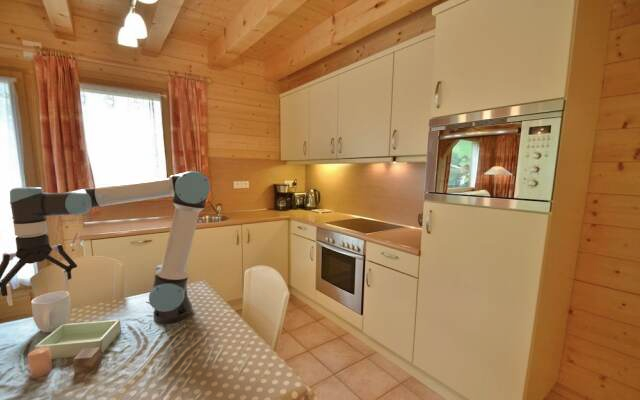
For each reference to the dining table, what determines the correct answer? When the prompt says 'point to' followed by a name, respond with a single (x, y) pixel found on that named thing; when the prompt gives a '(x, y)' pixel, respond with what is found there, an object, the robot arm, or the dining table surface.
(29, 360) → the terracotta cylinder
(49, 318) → the mug
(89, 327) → the tray
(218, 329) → the dining table surface
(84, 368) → the walnut cube
